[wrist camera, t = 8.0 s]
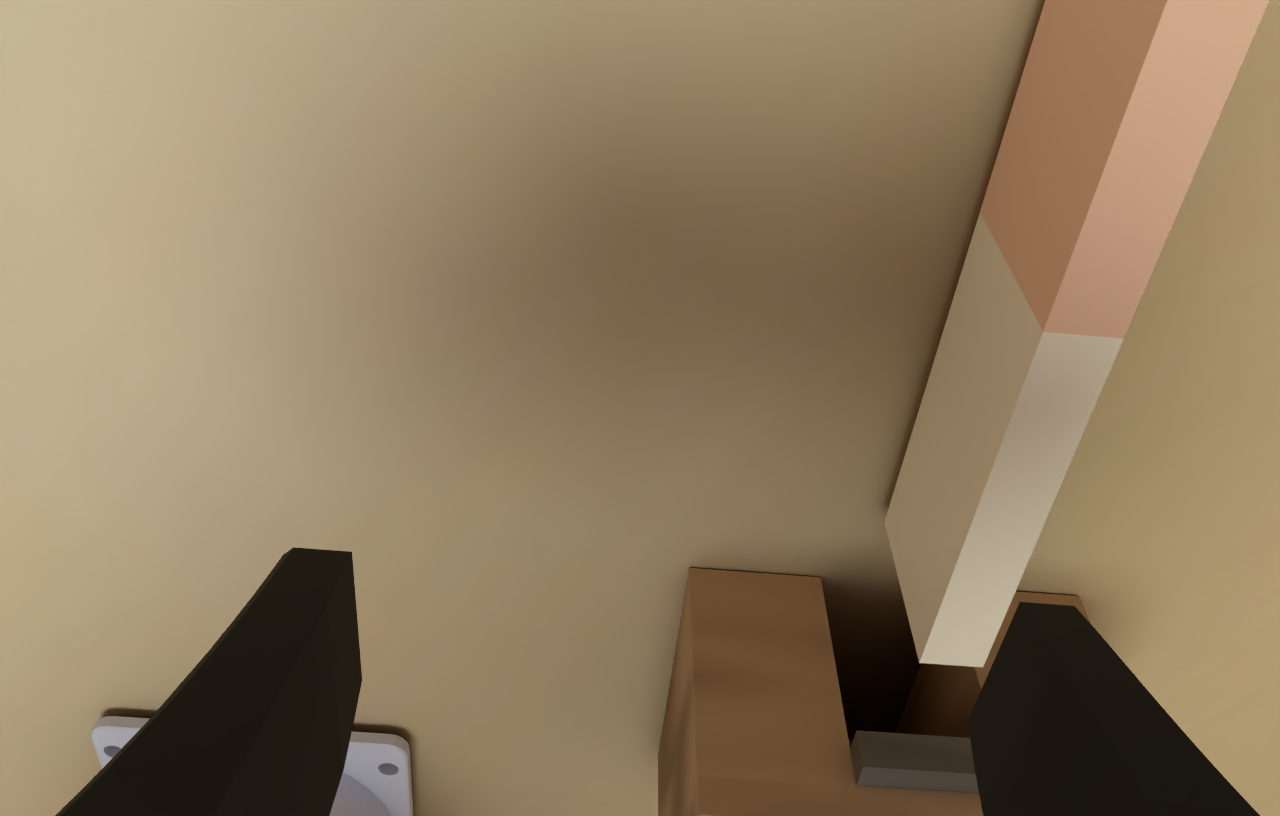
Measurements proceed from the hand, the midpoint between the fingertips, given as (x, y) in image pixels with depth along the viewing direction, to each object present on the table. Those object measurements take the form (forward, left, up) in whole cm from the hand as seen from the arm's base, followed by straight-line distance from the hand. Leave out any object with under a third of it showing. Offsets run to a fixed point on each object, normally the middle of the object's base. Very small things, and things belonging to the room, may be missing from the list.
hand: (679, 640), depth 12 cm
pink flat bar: (0, -6, -9) cm, 11 cm away
